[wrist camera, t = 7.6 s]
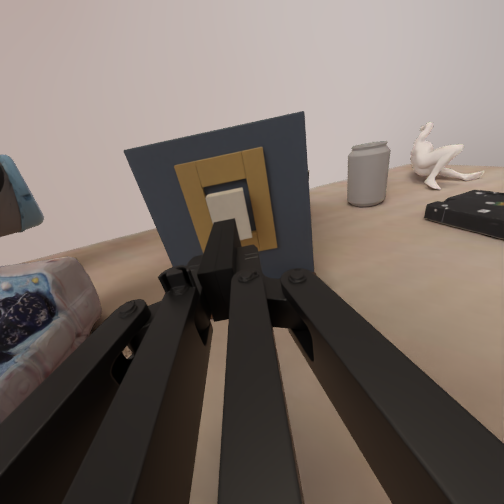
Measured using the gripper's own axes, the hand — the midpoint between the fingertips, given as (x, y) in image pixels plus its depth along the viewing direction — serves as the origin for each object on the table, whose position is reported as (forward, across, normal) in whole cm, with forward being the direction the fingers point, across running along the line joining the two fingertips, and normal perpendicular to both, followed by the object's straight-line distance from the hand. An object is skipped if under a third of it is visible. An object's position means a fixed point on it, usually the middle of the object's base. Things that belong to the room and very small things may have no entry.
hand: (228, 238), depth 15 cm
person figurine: (+40, +47, -11) cm, 62 cm away
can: (+32, +27, -11) cm, 43 cm away
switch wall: (+10, 0, -11) cm, 15 cm away
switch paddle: (+5, 0, -2) cm, 5 cm away
